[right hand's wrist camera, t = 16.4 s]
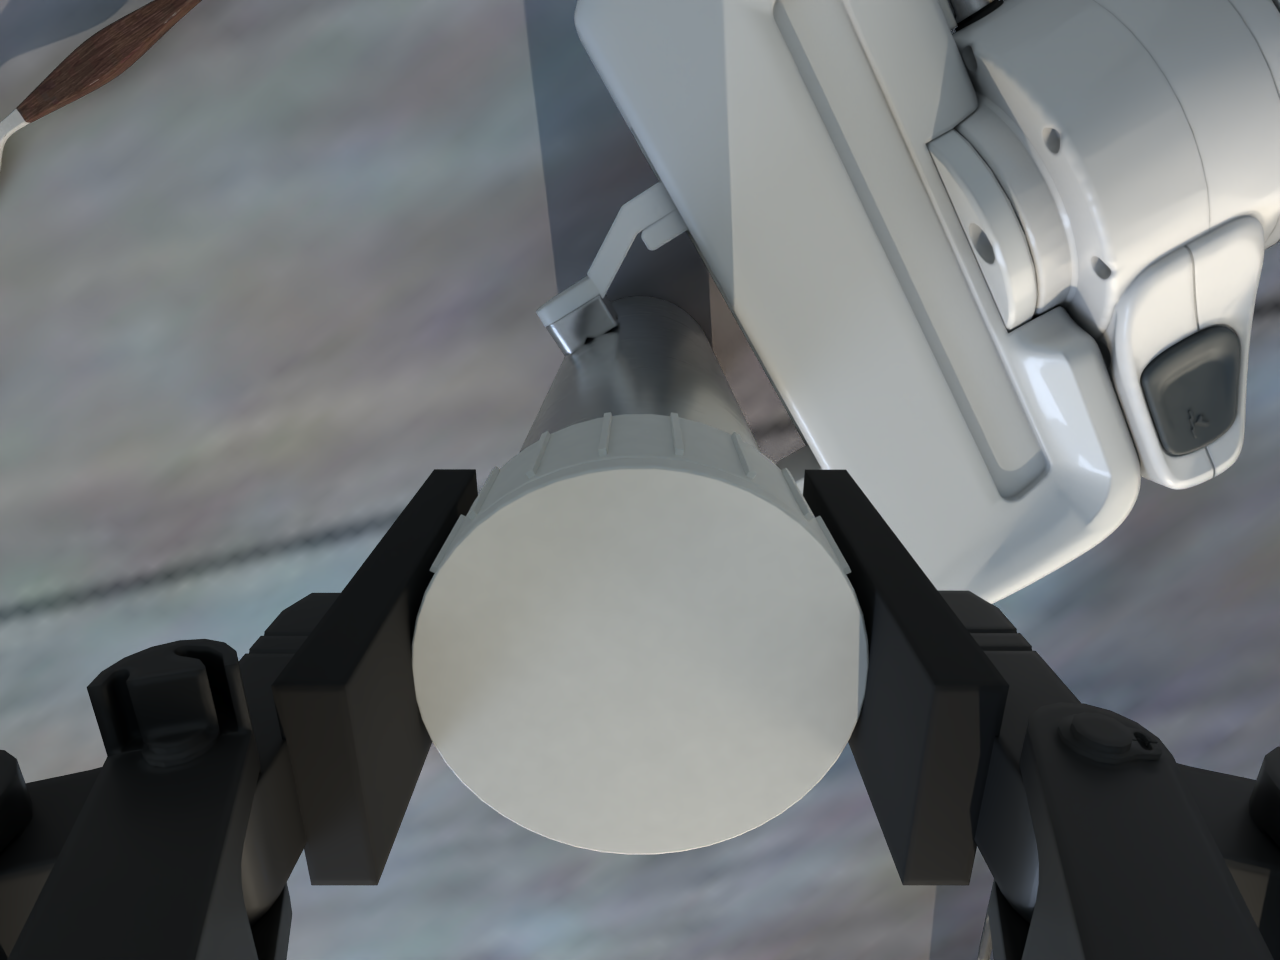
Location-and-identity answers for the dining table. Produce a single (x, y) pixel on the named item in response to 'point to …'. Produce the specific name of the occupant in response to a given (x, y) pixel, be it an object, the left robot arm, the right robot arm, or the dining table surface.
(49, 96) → the fork
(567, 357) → the jar
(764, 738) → the lid
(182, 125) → the dining table surface
